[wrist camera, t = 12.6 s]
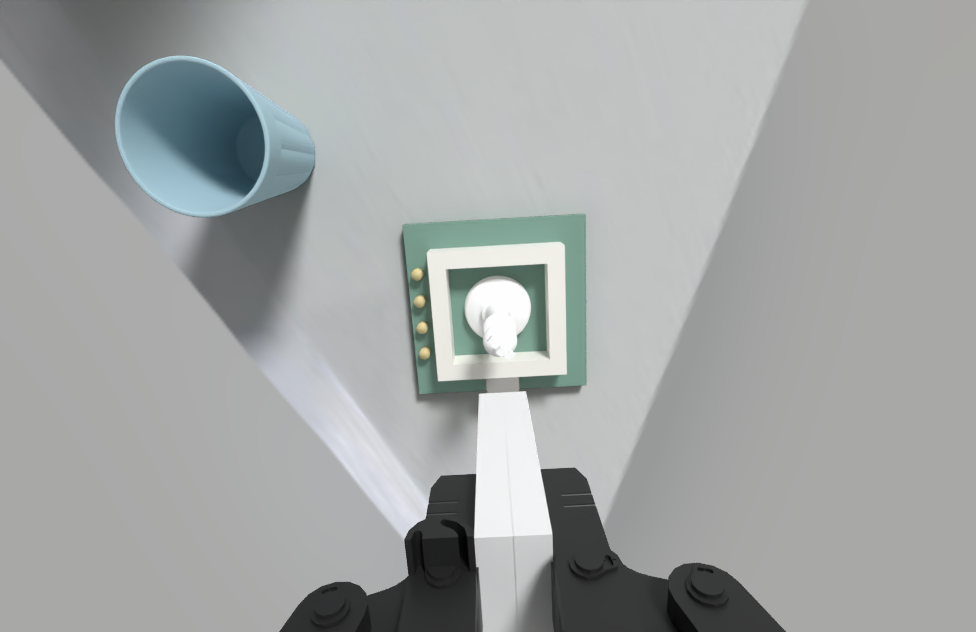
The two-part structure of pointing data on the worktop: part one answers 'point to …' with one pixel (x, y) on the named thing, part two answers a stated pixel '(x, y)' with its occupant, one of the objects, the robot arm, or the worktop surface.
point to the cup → (207, 139)
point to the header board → (498, 252)
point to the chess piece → (498, 313)
